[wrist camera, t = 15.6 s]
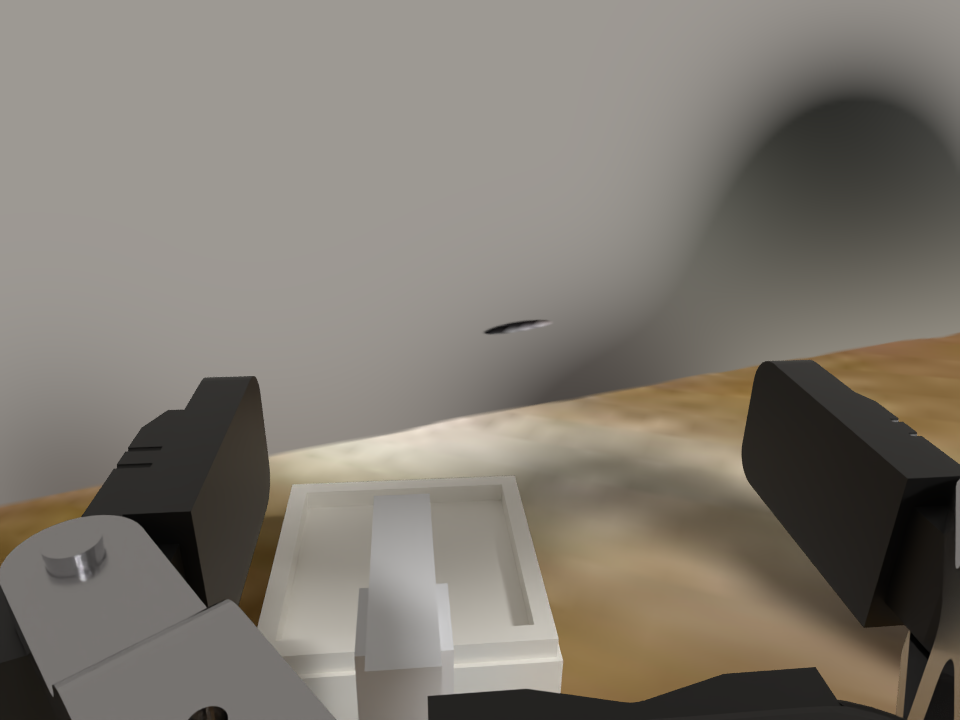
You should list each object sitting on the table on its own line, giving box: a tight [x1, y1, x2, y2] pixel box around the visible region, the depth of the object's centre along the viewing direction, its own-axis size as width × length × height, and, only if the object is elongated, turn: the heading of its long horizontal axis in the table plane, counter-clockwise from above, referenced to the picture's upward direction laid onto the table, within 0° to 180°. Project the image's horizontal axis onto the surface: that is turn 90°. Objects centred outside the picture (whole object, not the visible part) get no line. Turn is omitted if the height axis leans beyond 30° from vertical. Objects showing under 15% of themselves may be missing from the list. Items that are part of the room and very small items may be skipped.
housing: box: [257, 475, 563, 720], centre depth 42 cm, size 15×15×5 cm
